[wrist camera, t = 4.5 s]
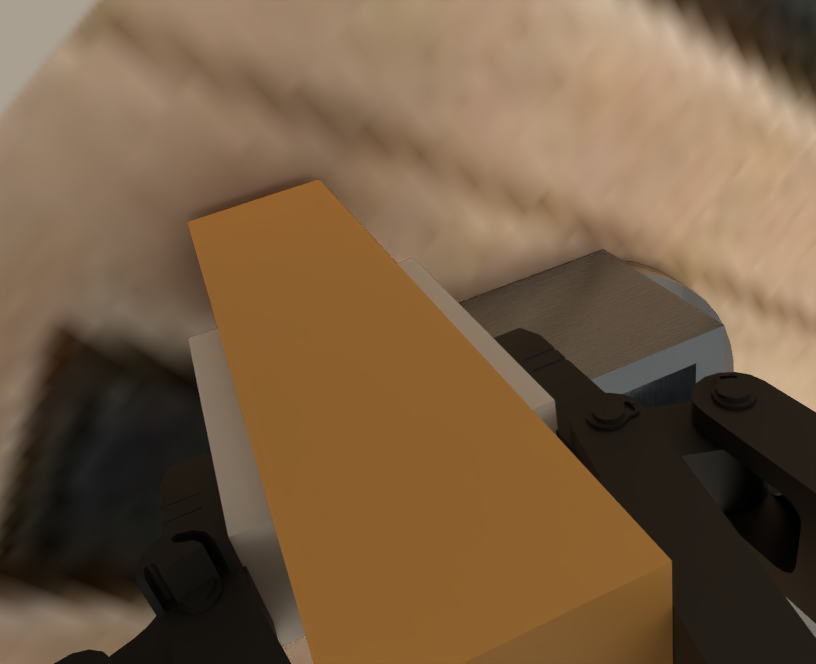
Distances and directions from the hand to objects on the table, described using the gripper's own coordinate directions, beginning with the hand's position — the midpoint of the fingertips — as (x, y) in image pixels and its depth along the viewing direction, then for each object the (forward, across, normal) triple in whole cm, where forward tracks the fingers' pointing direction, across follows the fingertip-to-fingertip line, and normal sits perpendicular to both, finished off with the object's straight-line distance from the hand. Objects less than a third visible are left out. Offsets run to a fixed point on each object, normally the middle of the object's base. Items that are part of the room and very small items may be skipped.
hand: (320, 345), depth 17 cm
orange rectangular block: (+6, 0, 0) cm, 6 cm away
